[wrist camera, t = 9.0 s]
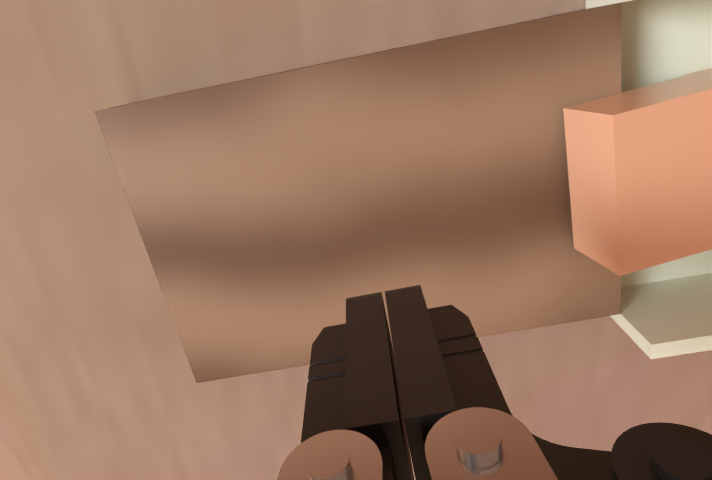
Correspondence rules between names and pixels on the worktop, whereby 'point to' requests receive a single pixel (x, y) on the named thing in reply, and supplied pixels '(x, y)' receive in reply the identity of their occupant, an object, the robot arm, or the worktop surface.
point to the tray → (695, 272)
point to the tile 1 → (642, 173)
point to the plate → (370, 190)
